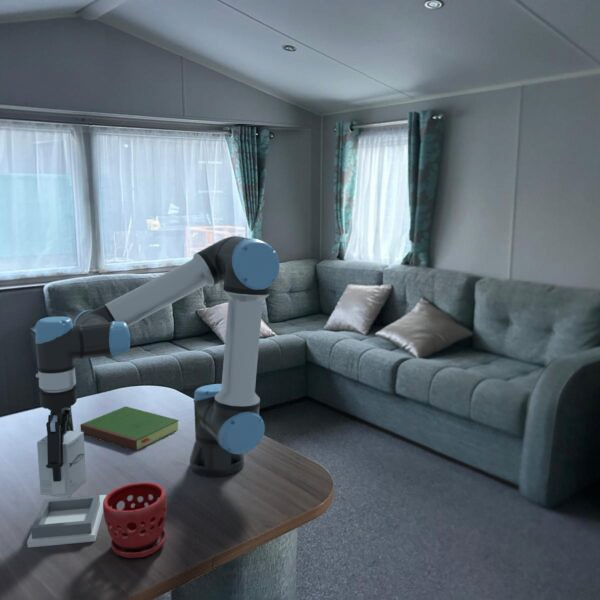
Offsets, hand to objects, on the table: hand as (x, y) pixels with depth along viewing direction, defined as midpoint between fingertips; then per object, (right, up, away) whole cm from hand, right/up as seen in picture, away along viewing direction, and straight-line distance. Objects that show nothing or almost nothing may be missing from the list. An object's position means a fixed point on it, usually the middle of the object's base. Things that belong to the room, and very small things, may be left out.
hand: (63, 482), depth 135 cm
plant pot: (+18, -12, -5) cm, 23 cm away
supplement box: (0, -2, 0) cm, 2 cm away
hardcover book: (0, -2, +56) cm, 56 cm away
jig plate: (0, -10, +4) cm, 11 cm away
